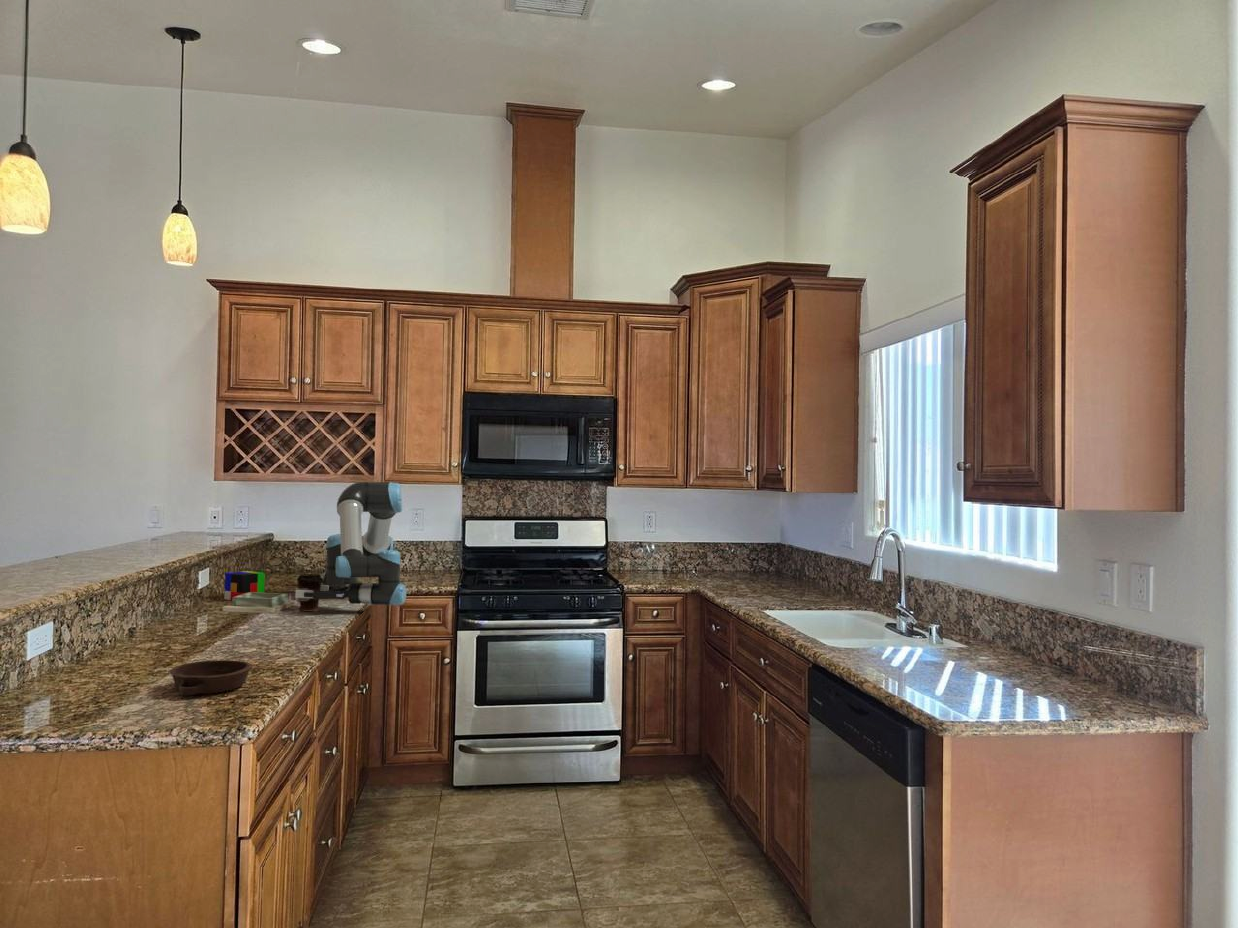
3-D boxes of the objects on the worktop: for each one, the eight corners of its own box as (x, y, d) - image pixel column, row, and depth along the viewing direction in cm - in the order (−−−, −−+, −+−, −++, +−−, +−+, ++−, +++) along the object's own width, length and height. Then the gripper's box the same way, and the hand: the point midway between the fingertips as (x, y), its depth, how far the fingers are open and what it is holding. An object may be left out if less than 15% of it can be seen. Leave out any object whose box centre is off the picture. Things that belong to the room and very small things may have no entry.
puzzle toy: (224, 599, 336) (225, 573, 336) (246, 596, 345) (247, 570, 345) (242, 601, 331) (243, 575, 331) (264, 598, 340) (265, 572, 340)
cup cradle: (248, 602, 329) (249, 590, 329) (296, 604, 328) (296, 592, 328) (222, 611, 309) (223, 598, 309) (272, 613, 308) (273, 600, 308)
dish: (267, 678, 217) (268, 658, 217) (227, 701, 195) (227, 679, 195) (196, 676, 217) (197, 655, 217) (148, 699, 195) (149, 676, 195)
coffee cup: (305, 612, 311) (307, 576, 311) (290, 610, 315) (291, 574, 315) (326, 610, 318) (327, 574, 318) (310, 607, 323) (311, 572, 323)
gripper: (349, 609, 303) (288, 606, 304) (372, 598, 328) (316, 596, 329) (350, 587, 303) (289, 585, 304) (373, 578, 328) (317, 576, 329)
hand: (303, 591), depth 317 cm, fingers open, 13 cm apart
